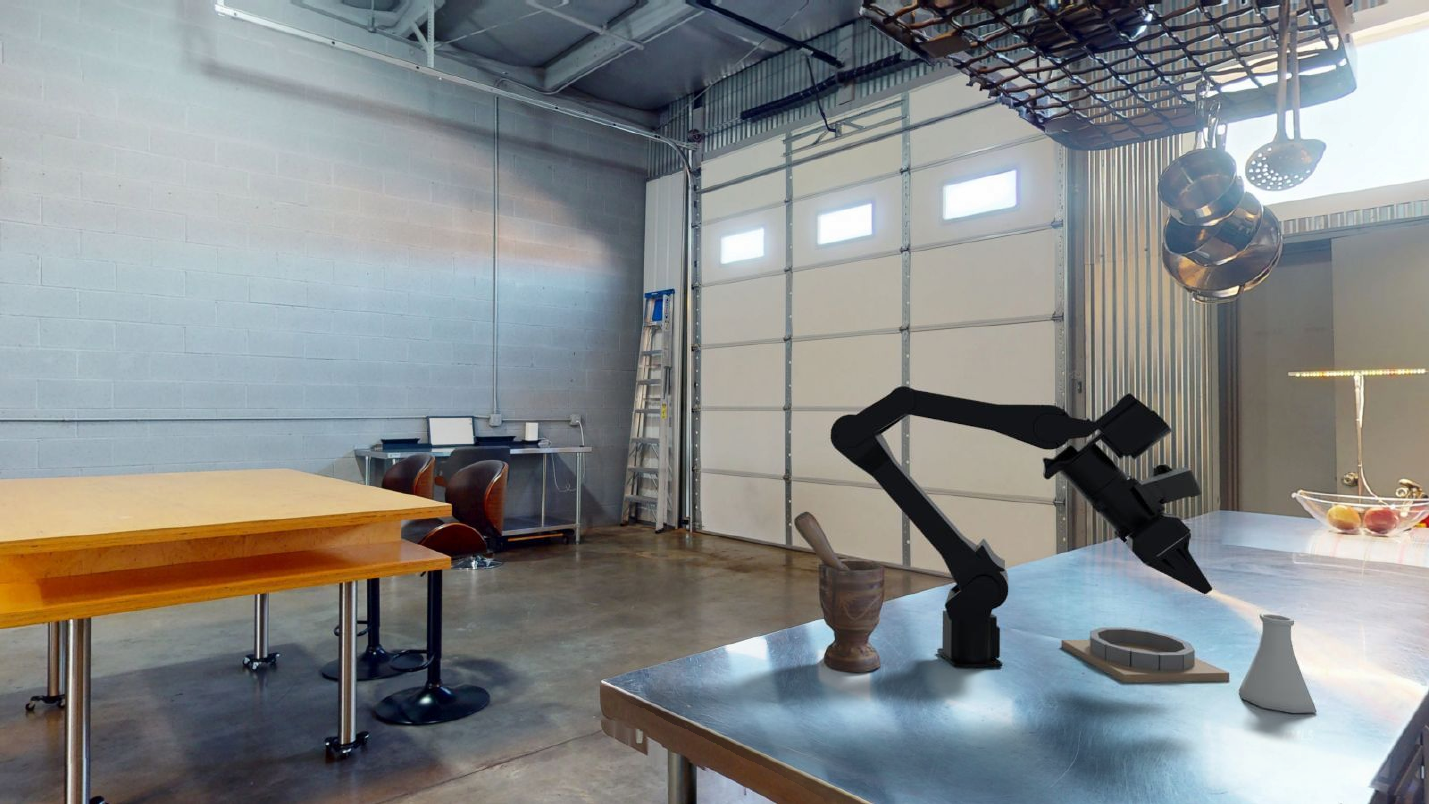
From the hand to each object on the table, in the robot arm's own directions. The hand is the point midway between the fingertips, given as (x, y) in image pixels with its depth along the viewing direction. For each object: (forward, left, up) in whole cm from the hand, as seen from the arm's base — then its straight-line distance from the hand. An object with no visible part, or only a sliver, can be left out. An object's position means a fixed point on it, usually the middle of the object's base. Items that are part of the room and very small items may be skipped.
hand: (1199, 583), depth 90 cm
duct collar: (-1, +10, -13) cm, 16 cm away
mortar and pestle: (-42, +11, -13) cm, 45 cm away
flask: (+6, -4, -13) cm, 15 cm away
